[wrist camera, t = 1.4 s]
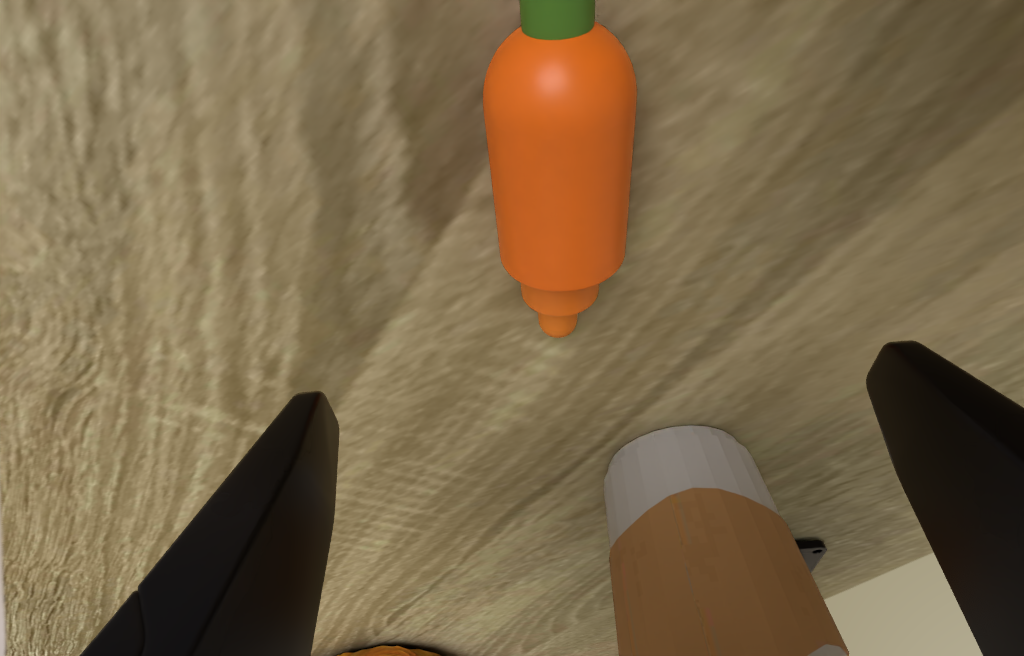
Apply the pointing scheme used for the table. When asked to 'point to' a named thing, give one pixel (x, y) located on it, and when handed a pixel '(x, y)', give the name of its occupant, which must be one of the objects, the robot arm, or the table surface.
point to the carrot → (560, 156)
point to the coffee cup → (706, 554)
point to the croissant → (390, 652)
